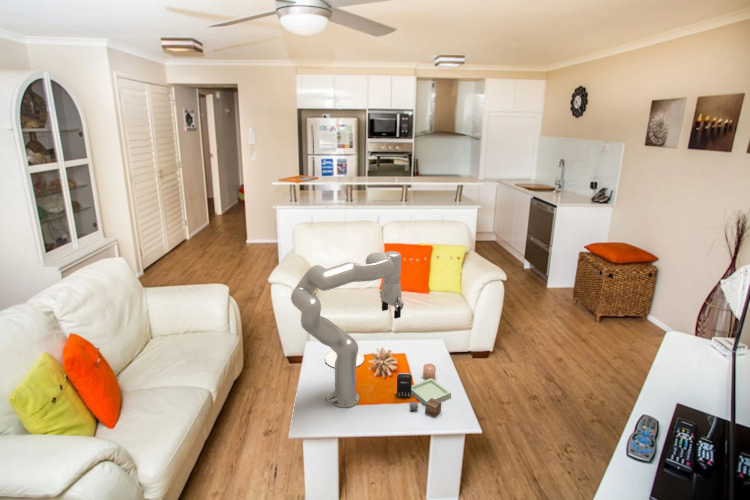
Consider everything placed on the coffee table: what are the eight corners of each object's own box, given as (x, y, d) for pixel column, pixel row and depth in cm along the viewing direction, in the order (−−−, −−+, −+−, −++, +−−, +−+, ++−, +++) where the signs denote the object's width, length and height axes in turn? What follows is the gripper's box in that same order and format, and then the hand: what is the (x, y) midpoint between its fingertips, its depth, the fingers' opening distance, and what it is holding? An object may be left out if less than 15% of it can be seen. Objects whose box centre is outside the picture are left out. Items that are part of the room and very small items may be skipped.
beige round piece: (428, 382, 215) (428, 371, 214) (420, 376, 220) (421, 365, 218) (437, 378, 218) (438, 368, 217) (429, 373, 223) (430, 362, 222)
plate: (317, 365, 229) (317, 362, 229) (336, 347, 248) (336, 345, 247) (354, 374, 222) (354, 372, 221) (370, 354, 240) (370, 352, 240)
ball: (412, 413, 192) (413, 406, 191) (407, 408, 195) (408, 401, 194) (419, 410, 194) (419, 403, 193) (414, 406, 197) (414, 399, 196)
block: (435, 417, 190) (435, 407, 188) (425, 413, 193) (425, 403, 191) (440, 411, 194) (441, 402, 192) (430, 407, 197) (431, 397, 195)
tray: (427, 407, 196) (427, 402, 196) (408, 391, 208) (408, 386, 207) (450, 397, 204) (451, 392, 203) (431, 382, 215) (431, 378, 214)
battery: (396, 398, 202) (397, 376, 199) (396, 393, 206) (396, 372, 203) (411, 399, 202) (412, 377, 199) (411, 394, 206) (412, 372, 202)
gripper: (374, 274, 203) (373, 309, 208) (396, 286, 189) (395, 323, 194) (387, 272, 207) (386, 305, 212) (410, 283, 193) (409, 319, 198)
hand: (391, 314), depth 203 cm, fingers open, 9 cm apart
